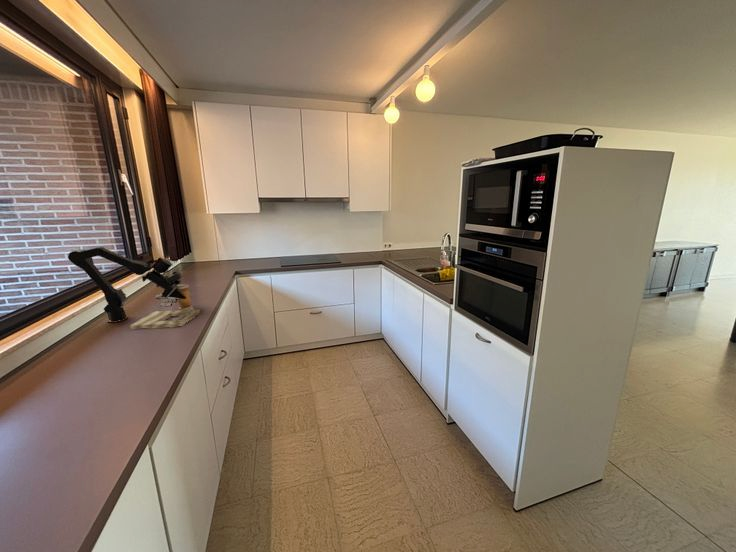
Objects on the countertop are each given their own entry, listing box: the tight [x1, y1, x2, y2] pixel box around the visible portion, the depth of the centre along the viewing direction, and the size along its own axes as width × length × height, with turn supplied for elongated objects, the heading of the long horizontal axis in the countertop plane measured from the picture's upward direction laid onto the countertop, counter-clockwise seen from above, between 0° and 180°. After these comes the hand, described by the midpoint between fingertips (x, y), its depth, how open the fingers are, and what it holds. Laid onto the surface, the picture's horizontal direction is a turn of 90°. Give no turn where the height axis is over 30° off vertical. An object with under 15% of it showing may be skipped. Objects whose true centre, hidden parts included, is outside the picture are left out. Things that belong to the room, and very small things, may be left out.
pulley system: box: [155, 293, 177, 307], centre depth 189 cm, size 27×5×15 cm
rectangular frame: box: [129, 309, 201, 330], centre depth 154 cm, size 24×18×2 cm
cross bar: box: [171, 307, 195, 323], centre depth 154 cm, size 2×16×2 cm, turn 1°
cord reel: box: [175, 283, 194, 311], centre depth 166 cm, size 6×6×13 cm
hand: (186, 296), depth 167 cm, fingers closed on cord reel, 6 cm apart
